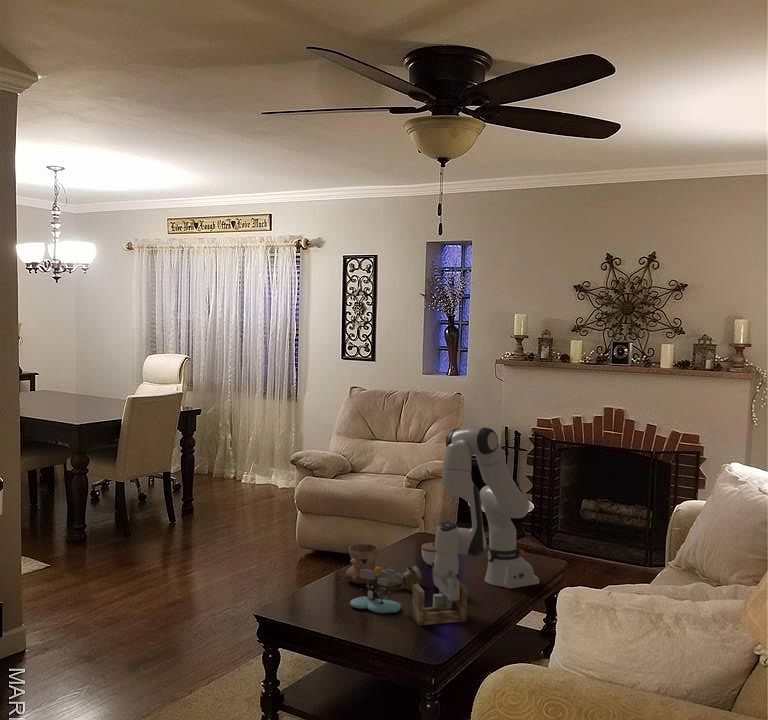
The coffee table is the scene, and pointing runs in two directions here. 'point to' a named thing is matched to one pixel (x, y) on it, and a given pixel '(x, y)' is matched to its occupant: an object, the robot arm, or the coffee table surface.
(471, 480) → the robot arm
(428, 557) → the lidded jar
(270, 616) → the coffee table surface
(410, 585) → the ceramic sculpture
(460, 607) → the wooden stand
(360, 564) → the ceramic jug
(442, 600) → the door panel
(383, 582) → the penguin figurine
